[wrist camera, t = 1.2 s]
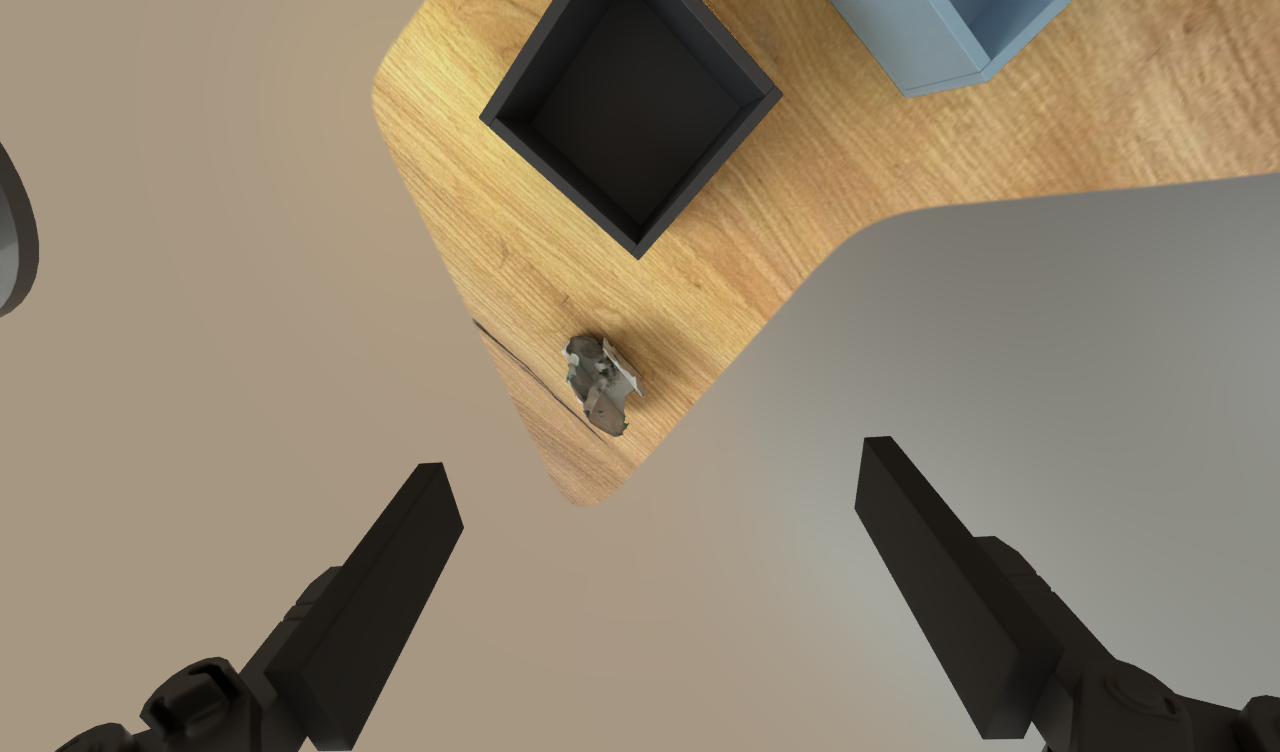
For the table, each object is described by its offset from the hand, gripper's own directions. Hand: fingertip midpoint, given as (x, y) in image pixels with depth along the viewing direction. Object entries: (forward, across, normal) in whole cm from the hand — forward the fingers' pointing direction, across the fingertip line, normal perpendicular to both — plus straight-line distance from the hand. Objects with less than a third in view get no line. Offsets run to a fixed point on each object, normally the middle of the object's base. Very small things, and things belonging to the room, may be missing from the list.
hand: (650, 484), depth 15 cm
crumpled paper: (+21, -4, -5) cm, 22 cm away
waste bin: (+21, 0, +11) cm, 24 cm away
